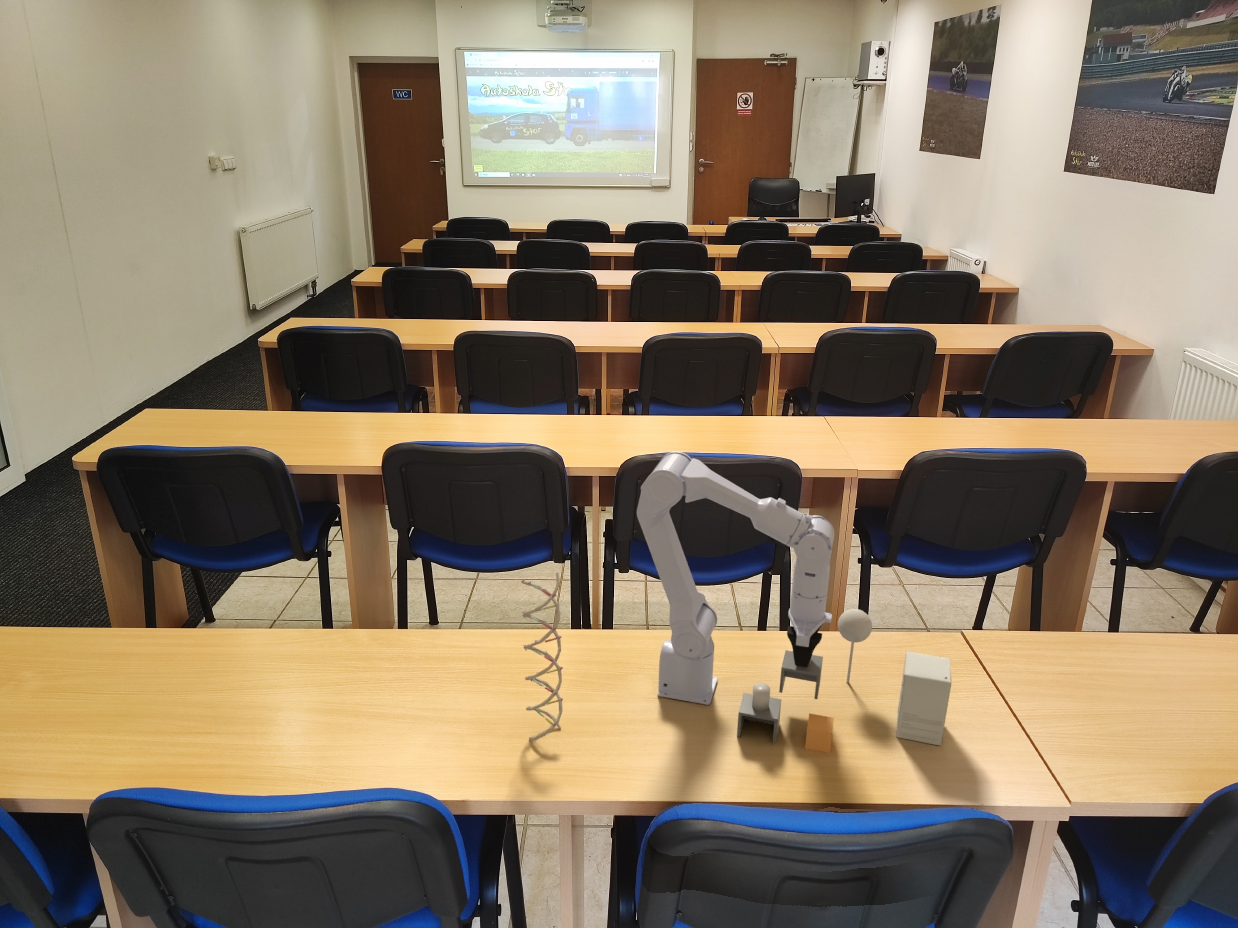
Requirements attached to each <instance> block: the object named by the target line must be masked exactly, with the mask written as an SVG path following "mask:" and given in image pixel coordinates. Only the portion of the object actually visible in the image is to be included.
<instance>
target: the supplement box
mask: <svg viewBox="0 0 1238 928" xmlns="http://www.w3.org/2000/svg"><path fill="white" fill-rule="evenodd" d="M904 656H905V659H904V665H903V672H902V679H901V687H900V693H899V698H898V706H897V714H896V715H897V718H896V738H898V739H905V740H910V741H915V742H920V743H924V744H929V745H934V746H935V745H936V746H942V741H943V735H944V729H945V724H946V717H947V711H948V707H949V699H950V694H951V688H952V670H951V658H948V657H942V656H937V655H931V654H926V653H920V652H913V651H905V655H904Z"/></svg>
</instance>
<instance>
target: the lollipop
mask: <svg viewBox="0 0 1238 928" xmlns="http://www.w3.org/2000/svg"><path fill="white" fill-rule="evenodd" d="M837 628H838V632H839V633H840V636H841V637H842V638H843V639H844V640H846V641H848V642H850V643H851V645H850V651H849V652H850V653H849V659H848V668H847V669H848V670H847V675H846V676H847V677H846V683H847V684H849V683H850V677H851V672H852V671H851V669H852V663H853V655H854V647H855V643H861V642H864V641H866V640H867V639H868V638H869V636H871V634H872V631H873V630H872V629H873V623H872V620H871V618H870V616H869V615H868V614H867V613H866V612H864V610H861V609H859V608H858V609H857V608H850V609H847V610H845V611H844V612H842V613H841V615H840V616H839V618H838V621H837Z"/></svg>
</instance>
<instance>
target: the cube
mask: <svg viewBox="0 0 1238 928" xmlns="http://www.w3.org/2000/svg"><path fill="white" fill-rule="evenodd" d="M834 720H835V718H834V717H832V716H826V715H821V714H815V713H808V721H807V725H806V726H807V727H806V736H805V746H804V748H805V749H810V750H814V751H819V752H826V753H831V748H832V739H833V729H834Z"/></svg>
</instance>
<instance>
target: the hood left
mask: <svg viewBox="0 0 1238 928" xmlns="http://www.w3.org/2000/svg"><path fill="white" fill-rule="evenodd" d="M781 707H782V698H776V697H771V687H770V686H769V685H768V684H766V683H763V682H759V683H758V682H756V683H755V684H753V687H752V693H747V692H743V694H742V698H741V701H740V705H739V709H738V715H737V717H738V718H737V729H736V737H737V738H741V735H742V730H743V726H744V721H745V720H748V721H753V722H759V723H764V724H769V725H773V733H772V745H776V744H777V738H778V732H779V728H780V727H779V726H780V717H781V709H782V708H781Z"/></svg>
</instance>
